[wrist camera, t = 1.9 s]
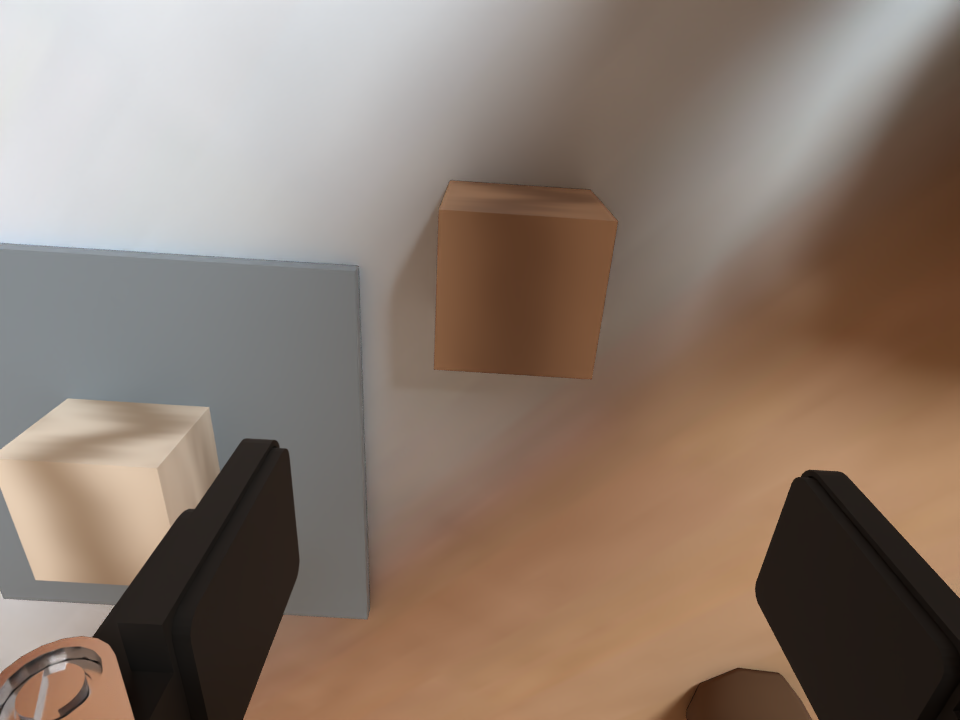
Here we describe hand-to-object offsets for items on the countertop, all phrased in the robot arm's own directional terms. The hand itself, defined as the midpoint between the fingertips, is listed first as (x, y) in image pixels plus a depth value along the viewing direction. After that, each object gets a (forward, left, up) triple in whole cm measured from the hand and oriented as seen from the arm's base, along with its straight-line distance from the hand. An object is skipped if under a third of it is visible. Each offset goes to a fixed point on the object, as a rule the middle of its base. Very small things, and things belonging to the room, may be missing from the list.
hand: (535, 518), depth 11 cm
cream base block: (+18, +12, -16) cm, 27 cm away
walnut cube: (0, 0, -17) cm, 17 cm away
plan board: (+18, +12, -17) cm, 27 cm away
